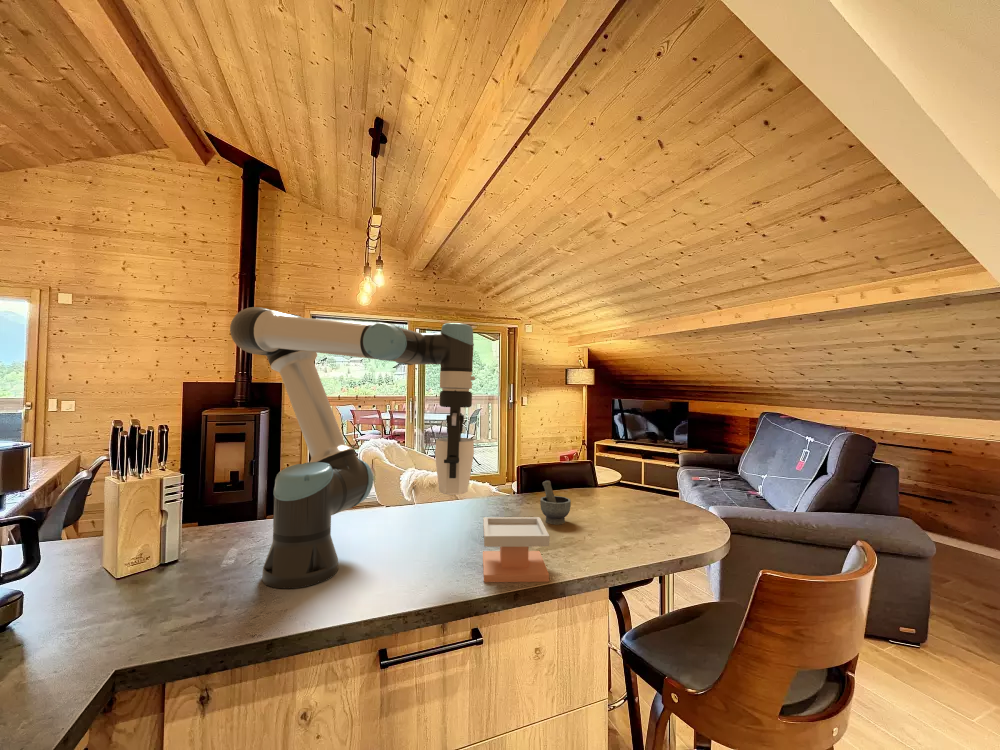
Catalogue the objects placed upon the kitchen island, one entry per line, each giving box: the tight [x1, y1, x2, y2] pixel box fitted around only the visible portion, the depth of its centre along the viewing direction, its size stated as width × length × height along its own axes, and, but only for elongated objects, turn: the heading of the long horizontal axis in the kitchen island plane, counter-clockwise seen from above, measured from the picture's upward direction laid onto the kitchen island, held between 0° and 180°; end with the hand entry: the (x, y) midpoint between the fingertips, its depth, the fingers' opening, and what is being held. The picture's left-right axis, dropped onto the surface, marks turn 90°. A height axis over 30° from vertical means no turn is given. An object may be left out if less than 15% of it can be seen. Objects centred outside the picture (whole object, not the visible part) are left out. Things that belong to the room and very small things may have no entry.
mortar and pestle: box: [539, 480, 572, 526], centre depth 139 cm, size 11×9×12 cm
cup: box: [434, 437, 475, 496], centre depth 102 cm, size 9×9×12 cm
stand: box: [482, 516, 550, 583], centre depth 102 cm, size 14×14×10 cm
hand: (453, 487), depth 102 cm, fingers closed on cup, 9 cm apart
